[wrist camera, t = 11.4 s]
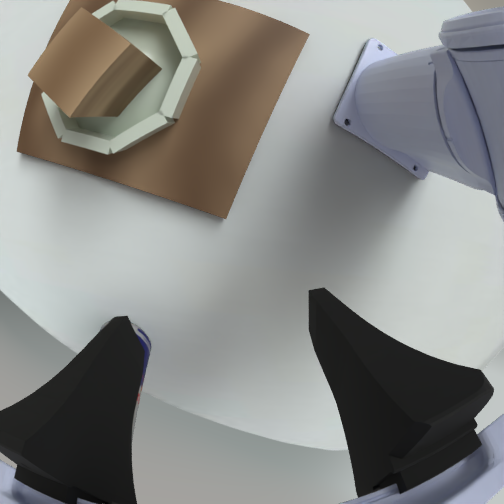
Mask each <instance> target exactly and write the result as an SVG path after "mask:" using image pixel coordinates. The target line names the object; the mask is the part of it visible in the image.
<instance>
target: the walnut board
mask: <svg viewBox="0 0 504 504" xmlns="http://www.w3.org/2000/svg"><path fill="white" fill-rule="evenodd" d="M112 1H114V2H115V3H117V1H118V0H70V1H69V3H68V5H67V7H66V8H65V10H64V12H63V14H62V16H61V18H60V20H59V22H58V23H57V25H56V28H55V30H54V32H53V34H52V36H51V38H50V40H49V43H48V45H49V44H50V43H51V41H52V40H53V39H54V38H55V36H56V35H57V34H58V33H59V32H60V30H61V29H62V28H63V27H64V26H65V25H66V23H67V22H68V21H69V20H70V19H71V18H72V17H73V16H74V14H75V13H76V12H77V11H78V10H79V9H80V8H81V7H82V8H84V9H85V10H87V11H88V12H89V13H91V14H92V13H94V12H95V11H97V10H99V9H100V8H102V7H103V6H105V5H107V4H108V3H110V2H112ZM137 1H146V2H154V3H161V4H167V5H171V6H172V8H175V9H176V11H177V13H178V15H179V17H180V19H181V21H182V23H183V25H184V27H185V29H186V31H187V33H188V35H189V37H190V39H191V41H192V43H193V45H194V47H195V49H196V51H197V54H198V56H199V58H200V61H201V63H200V66H201V69H200V71H199V74H198V76H197V78H196V80H195V82H194V85H193V87H192V89H191V91H190V94H189V96H188V98H187V101H186V103H185V105H184V108H183V110H182V113H181V115H180V118H179V119H176V118H173V119H174V121H175V123H174V124H172V125H170V126H168V127H166V128H164V129H162V130H161V131H159V132H157V133H155V134H153V135H151V136H149V137H148V138H146V139H144V140H142V141H140V142H139V143H137V144H135V145H134V146H132V147H130V148H128V149H127V150H123V151H120V152H117V153H114V154H113V153H111V154H108V155H107V154H104V153H101V152H97V151H94V150H90V149H87V148H83V147H80V146H76V145H72V144H69V143H65V142H61V140H62V138H58V137H57V135H56V133H55V130H54V128H53V125H52V123H51V120H50V117H49V115H48V112H47V109H46V107H45V104H44V101H43V98H42V95H41V94H42V93H43V91H42V89H41V88H40V87H39V86H38V85H37V84H36V83H35V82H33V85H32V88H31V91H30V95H29V98H28V102H27V105H26V109H25V113H24V117H23V121H22V126H21V131H20V136H19V141H18V147H17V152H20V153H24V154H27V155H31V156H34V157H37V158H41V159H44V160H47V161H51V162H54V163H57V164H61V165H64V166H67V167H70V168H74V169H77V170H80V171H83V172H87V173H90V174H93V175H96V176H99V177H102V178H105V179H109V180H112V181H115V182H118V183H121V184H124V185H127V186H130V187H133V188H136V189H139V190H142V191H145V192H148V193H151V194H154V195H157V196H160V197H163V198H166V199H169V200H172V201H175V202H178V203H181V204H184V205H187V206H190V207H193V208H196V209H198V210H201V211H204V212H207V213H210V214H213V215H216V216H219V217H221V218H224V219H226V218H227V215H228V213H229V211H230V208H231V206H232V203H233V201H234V198H235V196H236V194H237V191H238V189H239V186H240V184H241V182H242V179H243V177H244V175H245V172H246V170H247V168H248V165H249V163H250V161H251V158H252V156H253V154H254V152H255V149H256V147H257V145H258V142H259V140H260V138H261V136H262V133H263V131H264V129H265V127H266V125H267V122H268V120H269V118H270V116H271V114H272V111H273V109H274V107H275V105H276V103H277V101H278V98H279V96H280V94H281V92H282V90H283V88H284V86H285V84H286V81H287V79H288V77H289V75H290V73H291V71H292V69H293V67H294V65H295V63H296V61H297V59H298V57H299V55H300V53H301V51H302V49H303V47H304V45H305V43H306V41H307V39H308V37H309V35H310V34H308V33H306V32H304V31H301V30H299V29H297V28H295V27H293V26H290V25H288V24H286V23H283V22H281V21H279V20H276V19H274V18H271V17H268V16H266V15H263V14H260V13H258V12H255V11H252V10H249V9H246V8H243V7H240V6H236V5H233V4H230V3H226V2H222V1H219V0H137ZM48 45H47V47H48ZM47 47H46V48H47Z"/></svg>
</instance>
